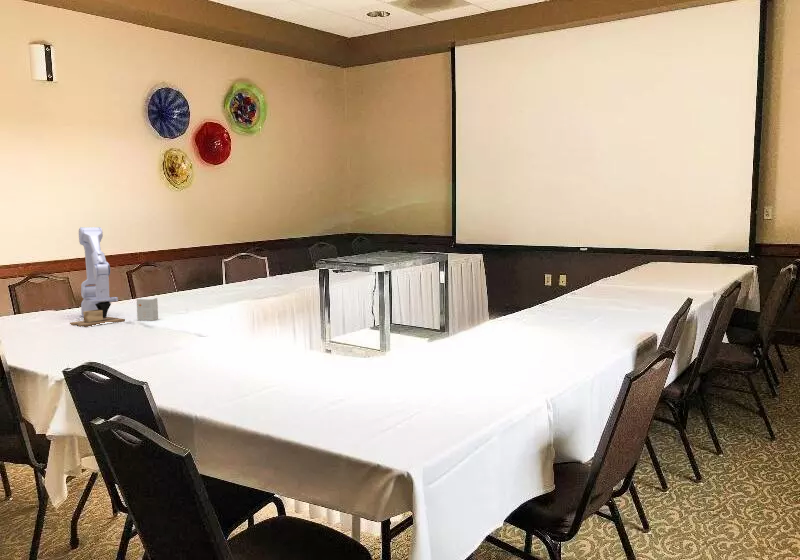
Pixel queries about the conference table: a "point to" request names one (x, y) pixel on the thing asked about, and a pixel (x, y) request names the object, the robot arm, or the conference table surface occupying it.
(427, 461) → the conference table surface
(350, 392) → the conference table surface
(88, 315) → the block
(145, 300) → the small box
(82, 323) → the board
